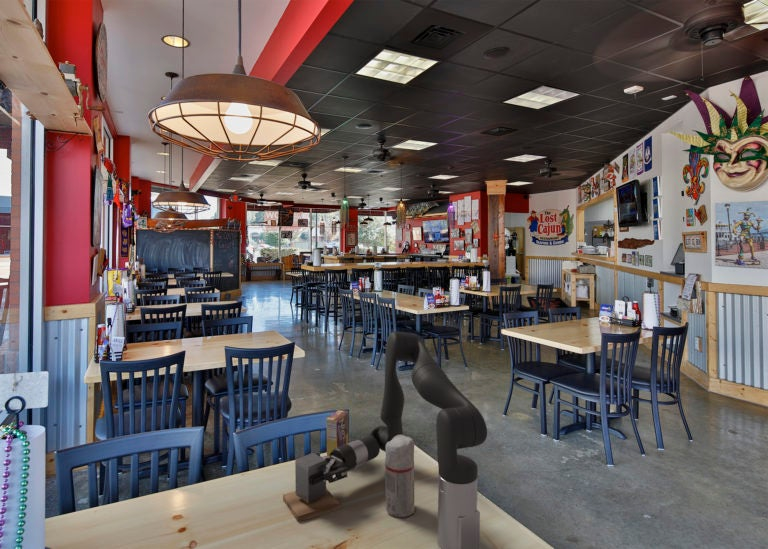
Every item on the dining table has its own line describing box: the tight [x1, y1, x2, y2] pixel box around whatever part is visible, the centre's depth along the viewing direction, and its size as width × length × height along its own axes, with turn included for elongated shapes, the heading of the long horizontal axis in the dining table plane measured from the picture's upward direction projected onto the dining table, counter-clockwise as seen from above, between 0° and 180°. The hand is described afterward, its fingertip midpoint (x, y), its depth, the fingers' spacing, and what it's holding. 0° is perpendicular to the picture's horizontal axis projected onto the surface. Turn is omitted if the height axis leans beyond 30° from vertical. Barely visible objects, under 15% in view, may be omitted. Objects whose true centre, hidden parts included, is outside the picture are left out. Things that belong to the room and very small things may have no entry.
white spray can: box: [384, 434, 416, 518], centre depth 120 cm, size 8×8×20 cm
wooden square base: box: [282, 487, 341, 523], centre depth 122 cm, size 12×12×8 cm
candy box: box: [325, 410, 349, 456], centre depth 150 cm, size 9×4×15 cm, turn 160°
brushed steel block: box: [294, 452, 327, 503], centre depth 122 cm, size 6×6×10 cm
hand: (303, 476), depth 121 cm, fingers closed on brushed steel block, 6 cm apart
